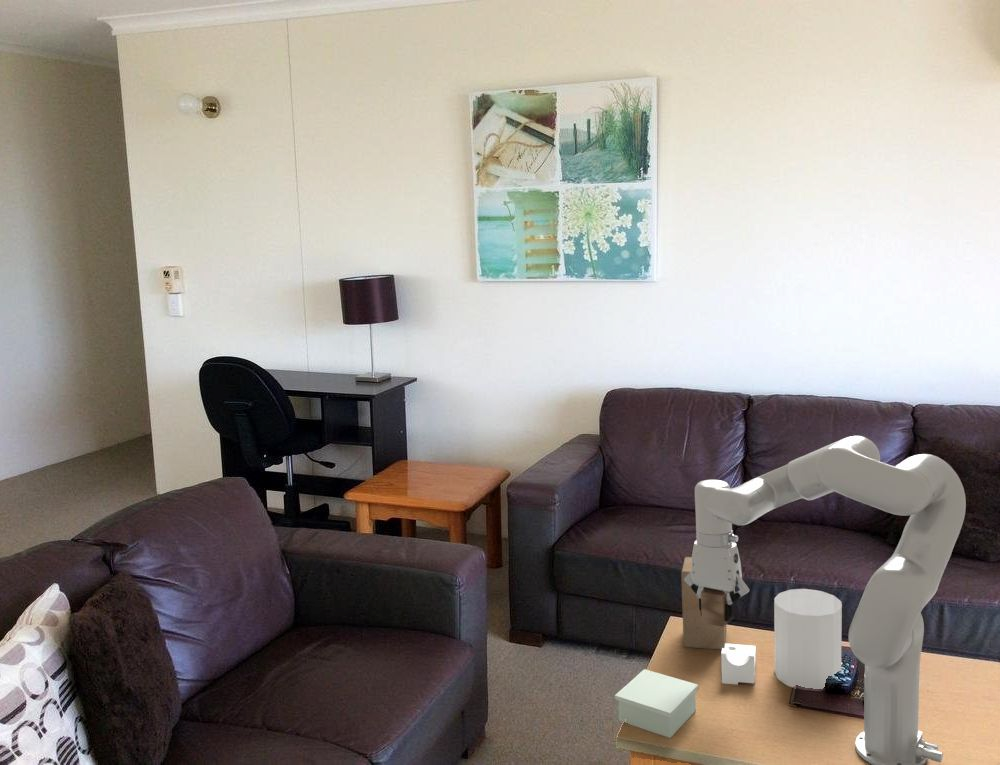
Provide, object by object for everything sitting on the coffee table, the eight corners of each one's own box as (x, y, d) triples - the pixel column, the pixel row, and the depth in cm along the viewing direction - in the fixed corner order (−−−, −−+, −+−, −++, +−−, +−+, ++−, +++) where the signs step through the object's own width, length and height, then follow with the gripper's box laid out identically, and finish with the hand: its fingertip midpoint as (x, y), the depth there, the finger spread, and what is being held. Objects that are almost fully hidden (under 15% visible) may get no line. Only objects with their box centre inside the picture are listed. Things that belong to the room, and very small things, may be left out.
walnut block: (732, 618, 191) (731, 588, 189) (723, 627, 187) (722, 596, 186) (711, 613, 194) (710, 583, 193) (701, 622, 190) (700, 591, 189)
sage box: (698, 710, 187) (698, 684, 186) (671, 740, 177) (670, 713, 176) (645, 693, 195) (644, 669, 194) (615, 721, 185) (614, 695, 184)
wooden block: (683, 647, 215) (681, 571, 212) (686, 629, 225) (684, 556, 221) (724, 650, 212) (723, 573, 209) (726, 632, 222) (725, 558, 218)
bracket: (754, 687, 195) (753, 656, 194) (721, 684, 198) (721, 653, 196) (755, 659, 208) (755, 630, 206) (725, 656, 210) (724, 627, 209)
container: (797, 696, 190) (796, 620, 187) (762, 666, 204) (762, 594, 201) (855, 685, 194) (855, 609, 190) (817, 655, 207) (817, 584, 204)
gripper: (759, 538, 185) (761, 618, 188) (685, 526, 195) (689, 602, 198) (745, 549, 179) (747, 631, 182) (670, 536, 189) (674, 615, 192)
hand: (717, 615), depth 190 cm, fingers closed on walnut block, 5 cm apart
